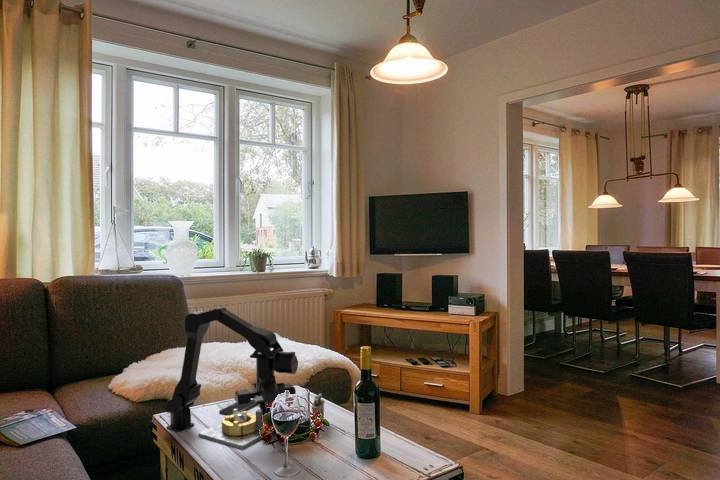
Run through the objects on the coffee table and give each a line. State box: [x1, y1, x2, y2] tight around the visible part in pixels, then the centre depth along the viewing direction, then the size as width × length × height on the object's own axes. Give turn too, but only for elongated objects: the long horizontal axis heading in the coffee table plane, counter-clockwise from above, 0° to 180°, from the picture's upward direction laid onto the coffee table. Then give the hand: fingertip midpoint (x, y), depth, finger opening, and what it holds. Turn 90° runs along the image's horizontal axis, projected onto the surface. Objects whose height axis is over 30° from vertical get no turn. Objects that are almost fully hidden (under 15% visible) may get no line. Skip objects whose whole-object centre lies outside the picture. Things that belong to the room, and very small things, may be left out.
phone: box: [218, 399, 259, 416], centre depth 182 cm, size 8×1×15 cm
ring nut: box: [221, 408, 263, 435], centre depth 160 cm, size 18×11×6 cm, turn 87°
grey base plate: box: [198, 408, 262, 450], centre depth 160 cm, size 19×18×6 cm
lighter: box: [311, 393, 325, 420], centre depth 166 cm, size 8×3×10 cm, turn 168°
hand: (265, 419), depth 157 cm, fingers closed
